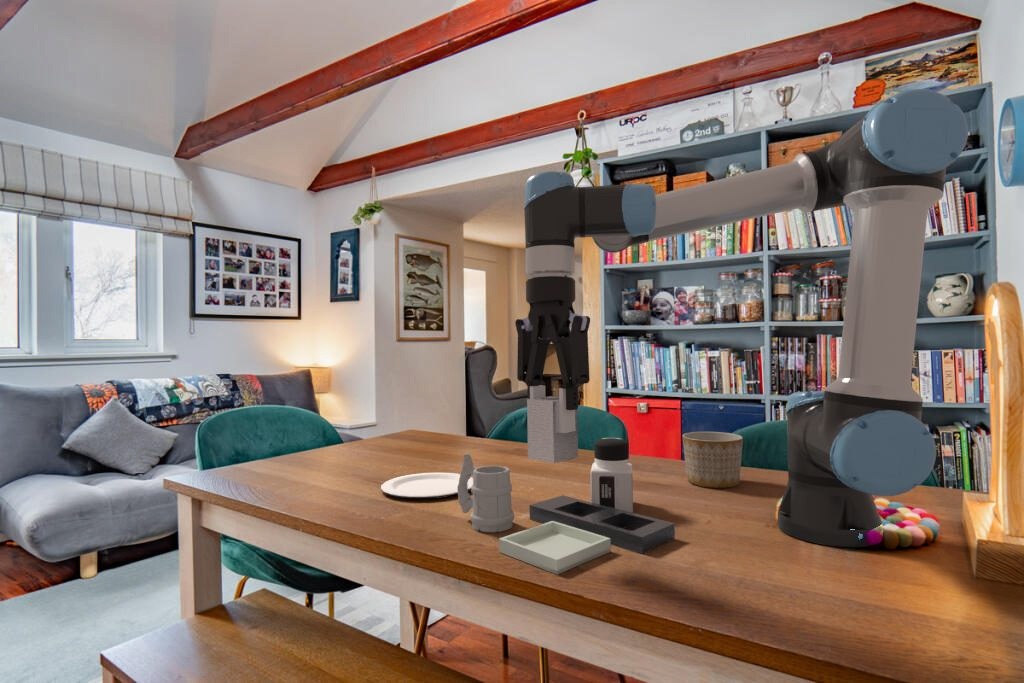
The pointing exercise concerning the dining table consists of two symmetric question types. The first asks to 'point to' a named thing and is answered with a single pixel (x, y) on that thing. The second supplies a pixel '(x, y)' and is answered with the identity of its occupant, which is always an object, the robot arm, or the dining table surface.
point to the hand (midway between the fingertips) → (552, 429)
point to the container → (612, 475)
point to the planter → (713, 458)
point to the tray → (554, 546)
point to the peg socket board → (606, 522)
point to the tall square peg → (549, 432)
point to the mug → (486, 496)
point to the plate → (424, 485)
